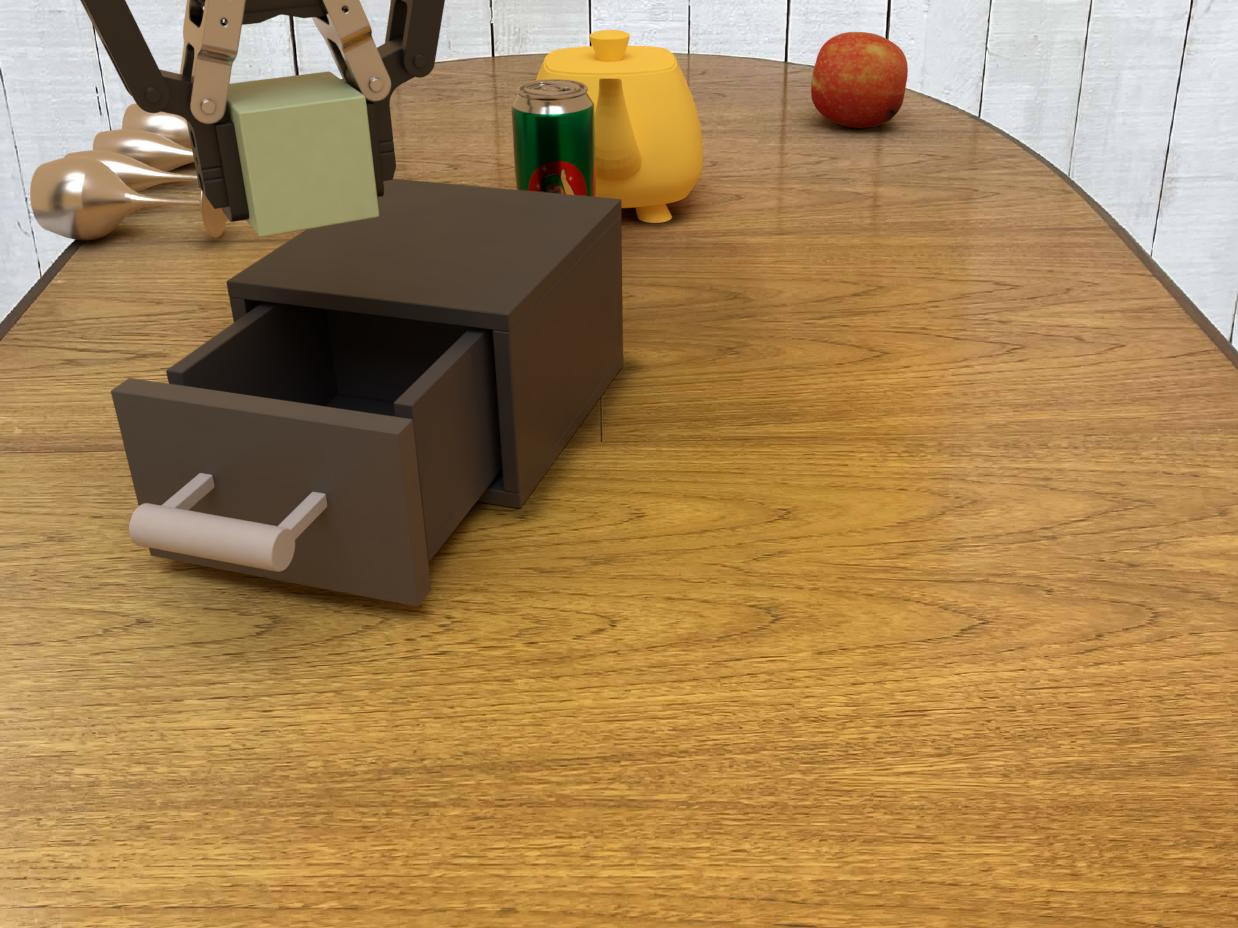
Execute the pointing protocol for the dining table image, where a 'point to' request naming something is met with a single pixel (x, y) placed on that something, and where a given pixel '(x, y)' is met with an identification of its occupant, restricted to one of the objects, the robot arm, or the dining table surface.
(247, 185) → the block
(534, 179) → the soda can
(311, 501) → the drawer
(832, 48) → the apple
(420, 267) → the cabinet
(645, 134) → the teapot
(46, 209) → the goblet set
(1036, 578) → the dining table surface
